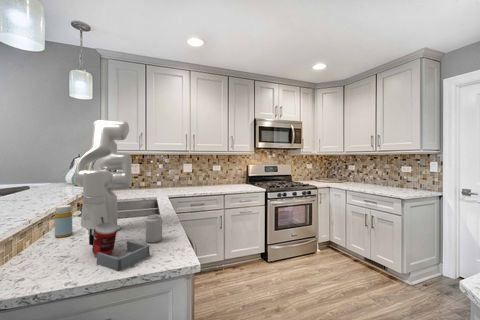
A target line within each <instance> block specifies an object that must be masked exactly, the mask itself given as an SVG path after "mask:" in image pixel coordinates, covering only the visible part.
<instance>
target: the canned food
mask: <svg viewBox="0 0 480 320" xmlns="http://www.w3.org/2000/svg"><path fill="white" fill-rule="evenodd" d="M117 232H118V231H117V226H116V225H115V224H113V223H109V222H105V223H102V224H99V225H97V226H96V227H95V233H94V240H93V245H92V249H91V251H92V253H93V254H94V256H97V253H99V252H100V253H103V254H107V255H111V254H112V253H113V252H114V250H115V245H116V244H115V243H116V237H117Z"/></svg>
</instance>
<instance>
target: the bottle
mask: <svg viewBox="0 0 480 320" xmlns="http://www.w3.org/2000/svg"><path fill="white" fill-rule="evenodd" d="M72 234H73V213H72V205H71V204H62V205H57V206H55V215H54V237H55V238H57V239H62V238H67V237H70V236H71V235H72Z"/></svg>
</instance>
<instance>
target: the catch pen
mask: <svg viewBox="0 0 480 320" xmlns="http://www.w3.org/2000/svg"><path fill="white" fill-rule="evenodd" d="M126 252H128V253H127V254H125V255H123V256H120V257H117V256H113V255H111V254H109V255H107V254H103V253H100V252H99V253H97V255H96V265H99V266H102V267H105V268H108V269H111V270H113V271H114V270H115V271H117V272H119V271H121V270H123V269H125V268H127V267H129V266H131V265H133V264H135V263H137V262H139V261H141V260H143V259H146V258H148V257H149V256H150V255H151V254H150V245H147V244H144V243H139V242H134V241H131V240H128V241H126Z"/></svg>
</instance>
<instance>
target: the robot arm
mask: <svg viewBox="0 0 480 320" xmlns="http://www.w3.org/2000/svg"><path fill="white" fill-rule="evenodd" d="M92 127H93V131H92V132H93V133H92V138H91V139H92V140H91V147H90V149H89V150H88V151H87V152H85V153H84V154H83V155H82V156H81V157H80V158H79V159H78V162H77V163H76V168H75V173H74V183H75V185H77V186H78V187H80V188H81V187H82V197H83V198H82V199H83V200H82V202H83V203H82V207H81V214H80V215H81V216H80V225H81V227H82V228H84V229H86V230H87V232H88V233H87V234H88V245H89V246H93V240H94V233H95V227H96V226H97V225H99V224H102V223H105V222H109V223H113V224H115V225H116V226H117V232H118V231H119V230H121V229H122V227H121V225H118V196H117V195H116V193H115V192H114V191H115V190H127V189H130V187H131V185H132V169H133V168H132V157H131V154H129V153H127V152H118V143H116V141H124V140H126V139H127V136H128V135H129V132H130V126H129V123H128V122H127V121H126V120H117V119H114V120H113V119H97V120H94V122H93V123H92ZM96 161H98V166H99V168H100V169H86V168H87V166H88V165H90V164H91V163H93V162H96ZM115 170H116V171H115ZM117 170H118V171H117ZM120 170H121V171H120Z"/></svg>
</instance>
